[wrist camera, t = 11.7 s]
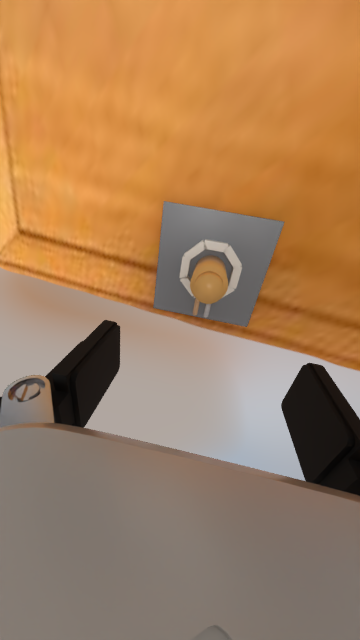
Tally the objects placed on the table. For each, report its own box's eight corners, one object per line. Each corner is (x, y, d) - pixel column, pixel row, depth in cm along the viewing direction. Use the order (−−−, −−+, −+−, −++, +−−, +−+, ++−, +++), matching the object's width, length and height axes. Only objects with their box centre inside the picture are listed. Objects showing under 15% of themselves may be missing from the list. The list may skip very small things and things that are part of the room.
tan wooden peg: (229, 258, 26) (233, 274, 20) (221, 288, 28) (223, 311, 22) (198, 252, 26) (192, 266, 20) (192, 282, 28) (185, 304, 22)
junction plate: (281, 221, 25) (287, 222, 23) (245, 322, 31) (247, 330, 29) (166, 201, 25) (161, 200, 23) (155, 304, 32) (151, 310, 30)
